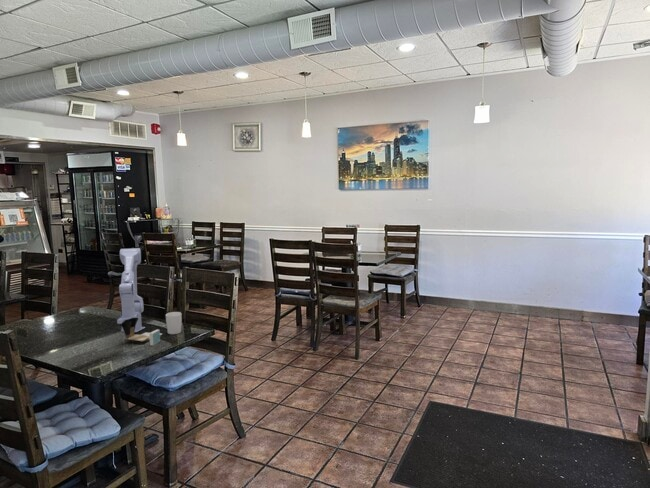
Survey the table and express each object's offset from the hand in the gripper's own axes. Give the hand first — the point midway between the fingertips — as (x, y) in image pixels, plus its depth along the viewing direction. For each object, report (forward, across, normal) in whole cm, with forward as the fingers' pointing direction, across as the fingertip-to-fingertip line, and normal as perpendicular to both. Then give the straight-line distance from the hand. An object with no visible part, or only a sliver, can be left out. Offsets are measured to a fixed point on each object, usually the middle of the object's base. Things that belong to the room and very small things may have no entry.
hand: (129, 333), depth 212 cm
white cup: (+4, +17, -14) cm, 23 cm away
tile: (+4, 0, -14) cm, 14 cm away
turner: (+2, 0, -4) cm, 4 cm away
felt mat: (+4, +9, -5) cm, 11 cm away
